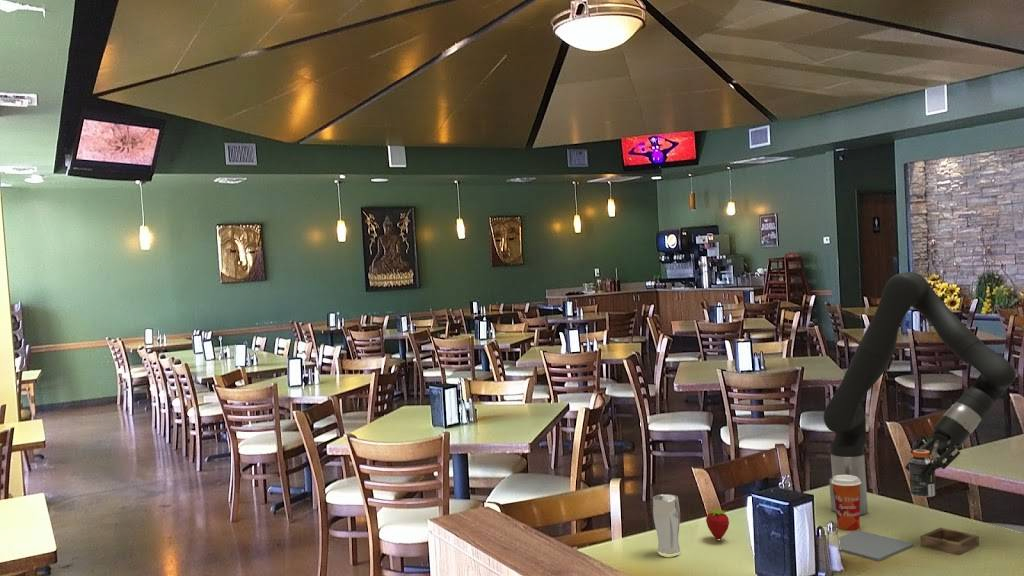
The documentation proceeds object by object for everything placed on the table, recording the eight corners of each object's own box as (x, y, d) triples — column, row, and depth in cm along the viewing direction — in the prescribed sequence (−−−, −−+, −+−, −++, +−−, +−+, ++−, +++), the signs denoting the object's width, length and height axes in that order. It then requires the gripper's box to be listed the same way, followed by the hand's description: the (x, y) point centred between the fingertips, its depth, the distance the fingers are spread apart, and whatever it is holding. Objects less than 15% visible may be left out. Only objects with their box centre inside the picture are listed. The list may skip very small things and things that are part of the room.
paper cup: (833, 530, 226) (830, 480, 226) (834, 522, 233) (831, 473, 233) (864, 532, 223) (861, 481, 223) (864, 523, 230) (860, 474, 230)
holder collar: (920, 545, 210) (920, 536, 210) (941, 536, 215) (940, 527, 215) (959, 554, 202) (958, 544, 202) (979, 545, 207) (978, 535, 207)
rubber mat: (822, 546, 215) (822, 543, 215) (857, 532, 224) (857, 529, 224) (878, 561, 201) (878, 558, 201) (914, 545, 210) (914, 543, 210)
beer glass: (684, 550, 219) (680, 494, 219) (680, 559, 212) (676, 501, 212) (658, 548, 221) (654, 493, 221) (653, 557, 214) (650, 500, 214)
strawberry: (723, 535, 229) (721, 499, 228) (734, 543, 221) (732, 506, 221) (703, 537, 228) (701, 501, 228) (713, 546, 220) (711, 509, 220)
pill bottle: (940, 496, 207) (938, 452, 207) (917, 498, 207) (915, 453, 207) (929, 490, 213) (926, 447, 213) (906, 491, 213) (904, 448, 213)
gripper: (930, 410, 217) (889, 458, 217) (964, 419, 203) (921, 471, 202) (950, 428, 218) (909, 476, 217) (985, 439, 203) (942, 490, 203)
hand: (915, 473), depth 210 cm, fingers closed on pill bottle, 6 cm apart
